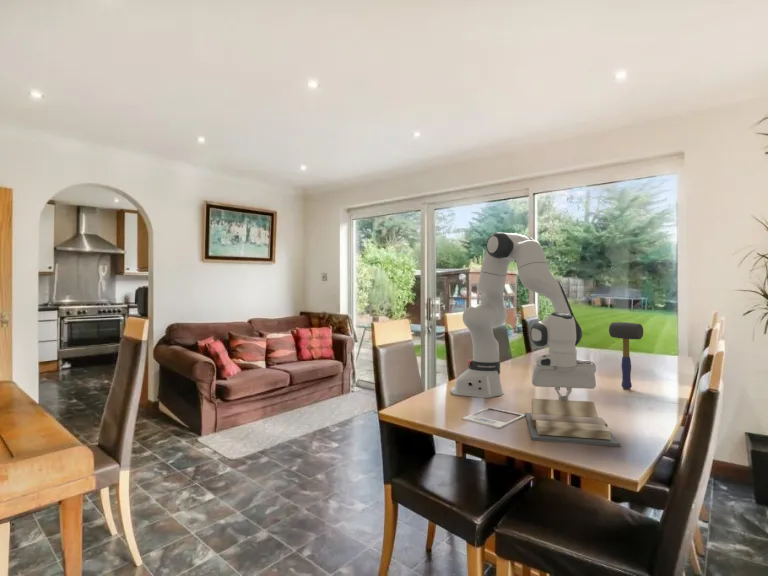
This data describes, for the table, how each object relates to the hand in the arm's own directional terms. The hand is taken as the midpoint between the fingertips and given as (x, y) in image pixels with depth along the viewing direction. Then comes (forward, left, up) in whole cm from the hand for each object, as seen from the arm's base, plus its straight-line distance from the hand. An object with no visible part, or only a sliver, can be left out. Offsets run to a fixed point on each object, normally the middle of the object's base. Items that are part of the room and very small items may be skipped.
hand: (563, 400), depth 144 cm
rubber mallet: (+35, +55, -7) cm, 65 cm away
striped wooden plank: (0, -8, -7) cm, 11 cm away
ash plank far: (0, 0, -4) cm, 4 cm away
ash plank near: (0, -16, -6) cm, 17 cm away
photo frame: (-23, -1, -8) cm, 24 cm away
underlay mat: (0, -8, -7) cm, 11 cm away
